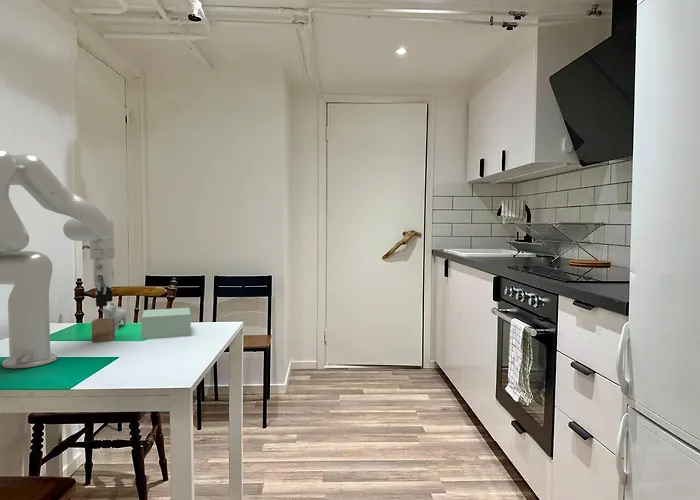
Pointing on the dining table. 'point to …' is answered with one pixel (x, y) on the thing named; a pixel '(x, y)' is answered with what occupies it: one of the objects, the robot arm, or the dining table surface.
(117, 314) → the white dog figurine
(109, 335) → the walnut block
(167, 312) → the sage box
